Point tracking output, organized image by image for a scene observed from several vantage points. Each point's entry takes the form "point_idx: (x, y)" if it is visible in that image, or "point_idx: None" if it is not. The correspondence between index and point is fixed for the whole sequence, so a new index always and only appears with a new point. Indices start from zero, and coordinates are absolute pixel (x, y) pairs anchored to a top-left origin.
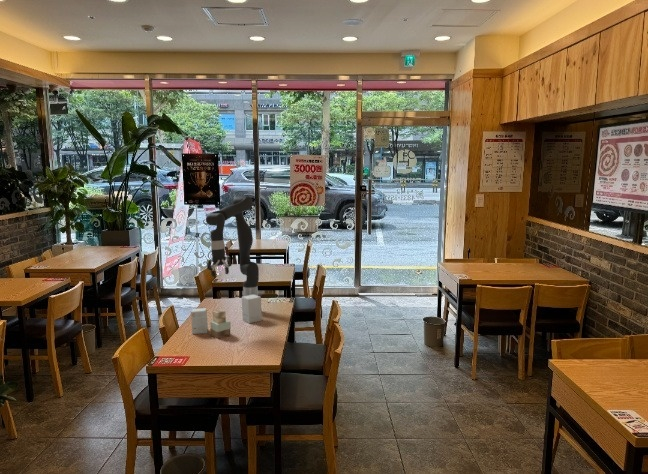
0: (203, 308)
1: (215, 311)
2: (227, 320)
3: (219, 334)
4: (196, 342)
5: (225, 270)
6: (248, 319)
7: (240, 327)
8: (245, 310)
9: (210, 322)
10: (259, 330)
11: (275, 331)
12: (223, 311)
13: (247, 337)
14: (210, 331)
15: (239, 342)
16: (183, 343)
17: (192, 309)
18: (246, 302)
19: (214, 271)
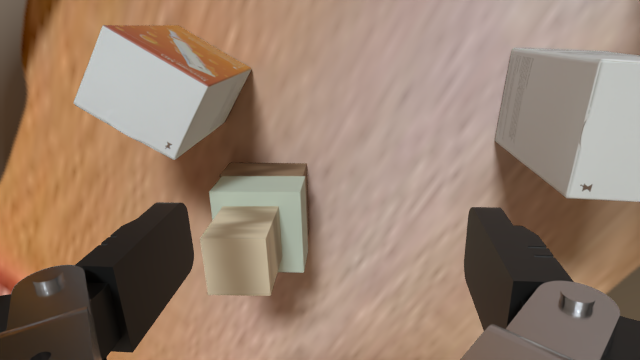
0: (183, 85)
1: (212, 258)
2: (300, 243)
3: None
4: (137, 210)
5: (488, 256)
6: (503, 138)
7: (414, 165)
8: (530, 114)
9: (210, 191)
10: (454, 272)
11: None
12: (256, 294)
13: (352, 310)
14: (224, 170)
15: (292, 334)
16: (81, 180)
17: (99, 43)
18: (556, 153)
19: (137, 340)
